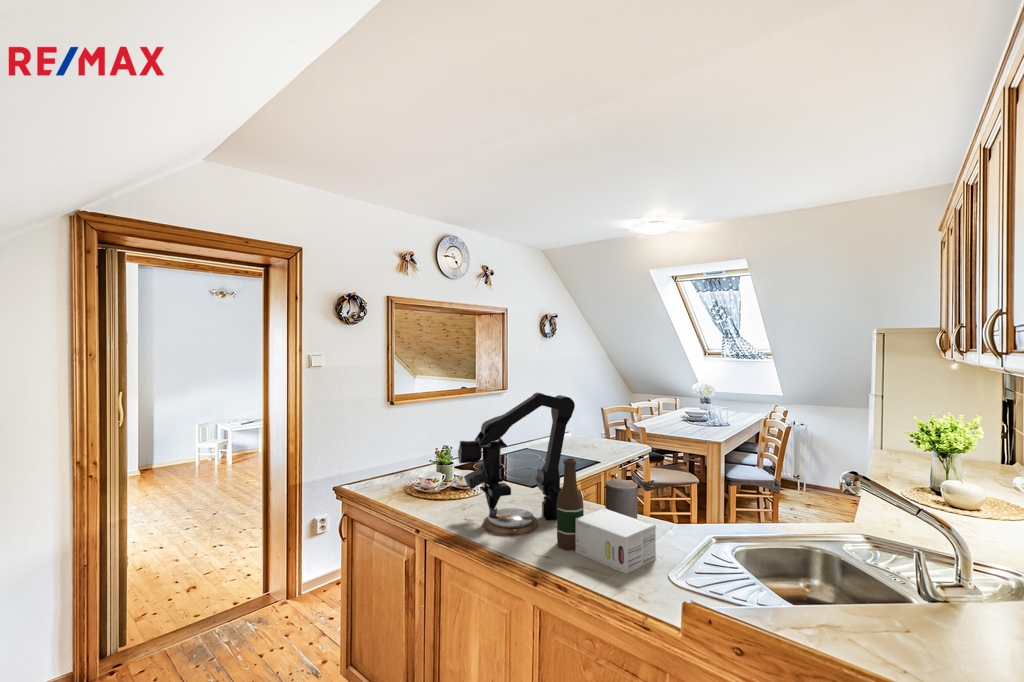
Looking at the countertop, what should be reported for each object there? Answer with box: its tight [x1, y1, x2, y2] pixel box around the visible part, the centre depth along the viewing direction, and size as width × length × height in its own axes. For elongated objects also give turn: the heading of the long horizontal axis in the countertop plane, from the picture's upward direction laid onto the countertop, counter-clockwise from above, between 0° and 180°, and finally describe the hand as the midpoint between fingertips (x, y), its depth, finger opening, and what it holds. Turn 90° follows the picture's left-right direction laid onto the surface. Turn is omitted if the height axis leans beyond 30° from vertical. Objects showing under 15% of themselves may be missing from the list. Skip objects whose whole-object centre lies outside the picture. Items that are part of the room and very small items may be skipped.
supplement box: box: [574, 508, 657, 575], centre depth 129 cm, size 17×13×9 cm
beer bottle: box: [556, 457, 585, 552], centre depth 135 cm, size 8×8×24 cm
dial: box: [487, 507, 534, 529], centre depth 151 cm, size 14×14×4 cm
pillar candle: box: [604, 478, 639, 519], centre depth 148 cm, size 10×10×15 cm
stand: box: [483, 515, 539, 537], centre depth 151 cm, size 17×17×1 cm
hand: (491, 511), depth 153 cm, fingers closed
